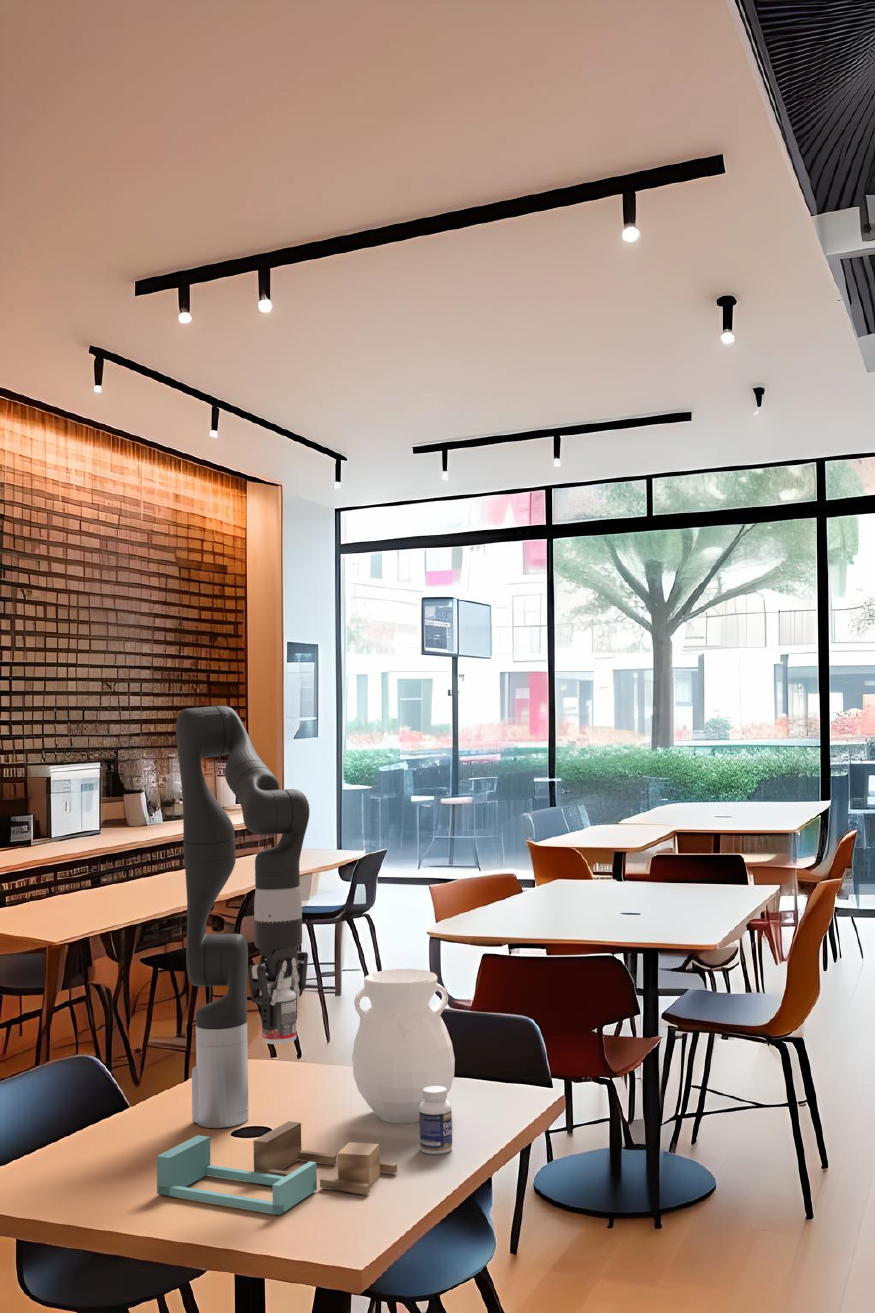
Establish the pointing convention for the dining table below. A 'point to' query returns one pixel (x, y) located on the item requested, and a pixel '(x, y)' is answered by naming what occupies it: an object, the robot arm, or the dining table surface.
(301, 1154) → the walnut lane broken
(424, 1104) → the pill bottle
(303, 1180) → the frame
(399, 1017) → the white vase
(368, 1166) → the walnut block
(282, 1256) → the dining table surface
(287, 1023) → the pill bottle
